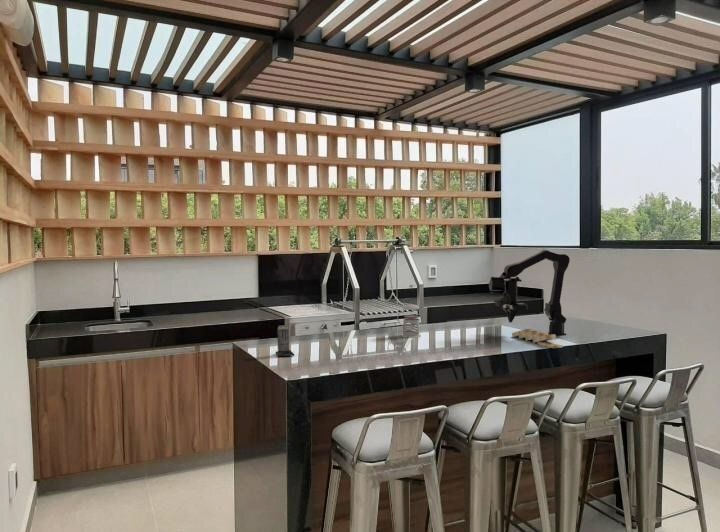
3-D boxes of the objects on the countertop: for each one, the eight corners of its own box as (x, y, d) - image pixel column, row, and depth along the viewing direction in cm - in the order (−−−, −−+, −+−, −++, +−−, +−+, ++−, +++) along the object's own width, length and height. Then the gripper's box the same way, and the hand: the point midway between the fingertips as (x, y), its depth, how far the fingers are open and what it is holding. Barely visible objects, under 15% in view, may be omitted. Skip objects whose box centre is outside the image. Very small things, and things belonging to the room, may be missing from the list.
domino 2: (527, 334, 263) (540, 330, 254) (527, 338, 262) (541, 333, 253) (518, 335, 261) (531, 330, 252) (519, 338, 260) (532, 334, 251)
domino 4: (541, 338, 252) (555, 334, 243) (542, 342, 252) (556, 338, 243) (532, 338, 251) (545, 335, 241) (533, 342, 250) (546, 339, 241)
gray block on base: (272, 354, 228) (271, 324, 227) (290, 352, 231) (289, 323, 231) (279, 358, 219) (279, 328, 219) (298, 356, 223) (297, 326, 222)
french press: (422, 337, 264) (422, 285, 263) (397, 337, 264) (397, 285, 263) (420, 334, 274) (420, 283, 272) (396, 334, 274) (397, 283, 273)
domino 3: (533, 336, 258) (547, 332, 249) (534, 340, 258) (548, 336, 249) (525, 336, 256) (539, 333, 247) (526, 340, 256) (539, 337, 247)
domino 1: (520, 332, 268) (533, 328, 259) (521, 336, 267) (534, 332, 259) (511, 333, 266) (524, 329, 257) (512, 336, 266) (525, 332, 257)
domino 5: (546, 340, 249) (562, 344, 240) (546, 344, 249) (562, 348, 240) (537, 341, 247) (553, 345, 238) (537, 345, 247) (553, 349, 238)
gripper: (486, 289, 276) (485, 320, 277) (508, 293, 259) (508, 326, 259) (505, 288, 280) (504, 319, 281) (528, 292, 263) (527, 324, 263)
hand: (510, 322), depth 271 cm, fingers closed
